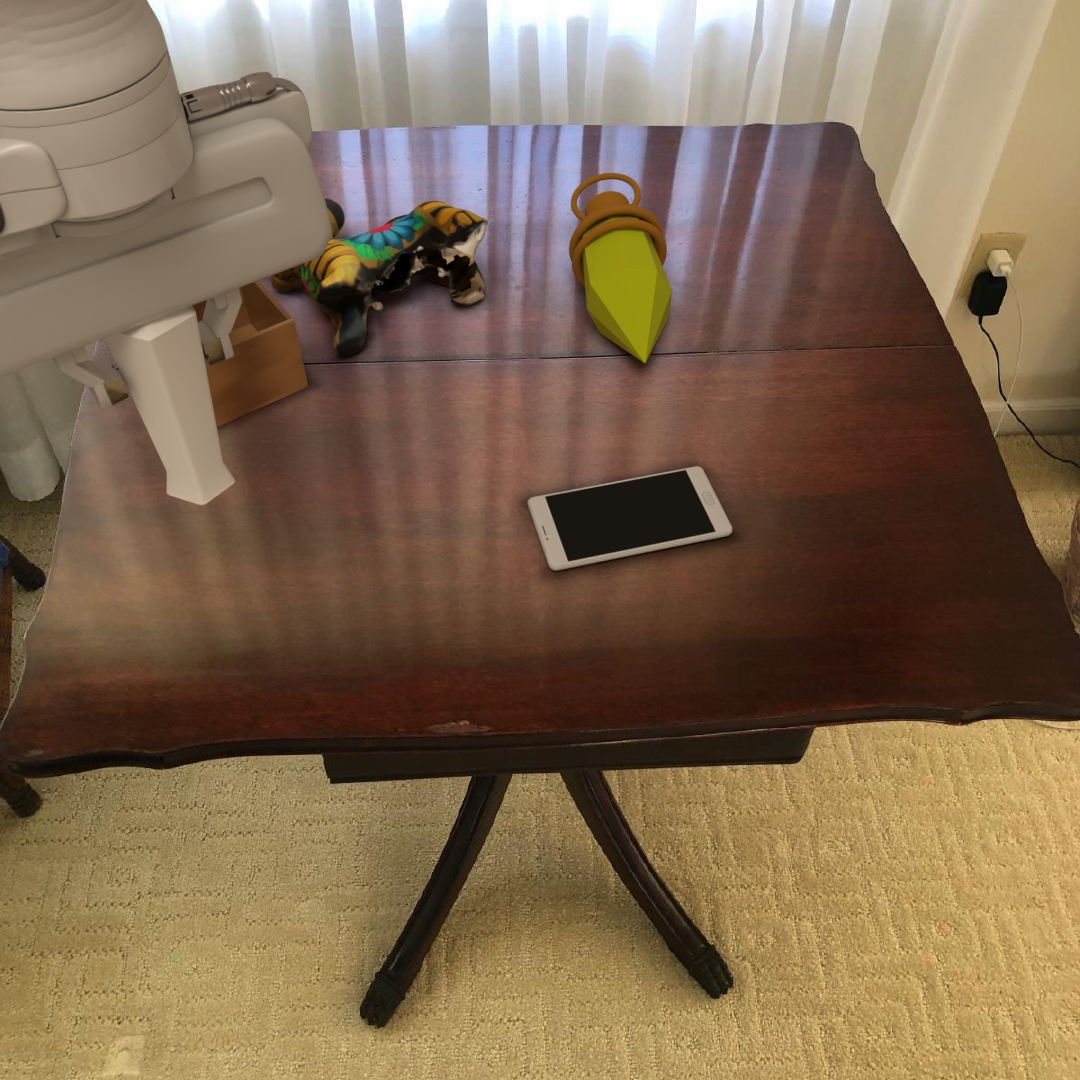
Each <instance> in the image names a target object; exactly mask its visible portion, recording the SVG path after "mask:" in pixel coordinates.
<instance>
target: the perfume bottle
mask: <svg viewBox="0 0 1080 1080" xmlns="http://www.w3.org/2000/svg"><path fill="white" fill-rule="evenodd" d="M104 341H105V343H106V346H107V347H108V349H109V352H110V354H111V356H112V358H113V360H114V362H115V365H116V366H117V370H118V372H119V373H120V375H121V376H122V378H123V381H124V383H125V387H126V388H127V391H128V393H129V395H130V396H131V397H130V398H131V399H132V401H133V403H134V405H135V407H136V409H137V411H138V413H139V415H140V418H141V420H142V422H143V424H144V426H145V429H146V431H147V433H148V435H149V437H150V439H151V441H152V444H153V446H154V448H155V450H156V452H157V454H158V456H159V458H160V460H161V463H162V465H163V467H164V470H165V471H166V495H168V496H171V497H174V498H177V499H180V500H183V501H187V502H189V503H193V504H195V505H198V506H205V505H206V504H208V503H210V502H211V501H212V500H213V499H214V498H216V497H218V496H219V495H221V494H222V493H223V492H225V491H227V489H229V488H230V487H231V486H233V485H234V484H235V482H236V479H235V478H234V476H233V475H232V473H231V472H230V470H229V468H228V467H227V465H226V464H225V462H224V461H223V454H222V449H221V443H220V438H219V432H218V427H217V426H216V421H215V415H214V410H213V404H212V398H211V393H210V387H209V382H208V376H207V371H206V365H205V360H204V354H203V349H202V343H201V338H200V332H199V327H198V321H197V315H196V311H195V309H194V308H193V307H192V306H189V307H187V308H184V309H181V310H179V311H176V312H173V313H171V314H168V315H166V316H163V317H160V318H158V319H155V320H152V321H150V322H147V323H144V324H142V325H139V326H136V327H134V328H131V329H128V330H126V331H123V332H120V333H118V334H115V335H112V336H110V337H107V338H105V339H104Z"/></svg>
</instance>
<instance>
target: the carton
mask: <svg viewBox="0 0 1080 1080" xmlns="http://www.w3.org/2000/svg"><path fill="white" fill-rule="evenodd" d="M239 290H240V294H241V298H242V304H241V307H240V309H239V312H238V315H237V317H236V320H235V323H234V325H233V328H232V331H231V333H229V337H230V341H231V345H232V348H233V352H234V357H232V358H230V359H227V360H225V361H222V362H219V363H217V364H214V365H211V366H209V367H208V366H207V365H206V364H205V365H206V371H207V376H208V382H209V387H210V393H211V398H212V404H213V410H214V415H215V421H216V426H217V428H218V427H221V426H223V425H226V424H228V423H230V422H233V421H234V420H237V419H239V418H241V417H243V416H246V415H249V414H250V413H252V412H255V411H257V410H260V409H262V408H264V407H266V406H268V405H270V404H272V403H273V404H274V403H275V402H278V401H279V400H282V399H284V398H286V397H289V396H291V395H293V394H296V393H299V392H300V391H302V390H305V389H306V388H309V382H308V378H307V372H306V368H305V364H304V359H303V354H302V350H301V346H300V341H299V337H298V332H297V326H296V323H295V319H293V317H292V316H291V315H290V313H288V312H287V311H286V309H285V308H283V306H282V305H281V304H280V303H279V302H278V301H277V300H276V298H275V297H273V296H272V294H271V293H270V292H269V291H268V290H267V289H266V288H265V287H264V286H263V284H261V282H260V280H258V281H255V282H253V283H250V284H248V285H245V286H242V287H240V288H239ZM206 303H207V300H205V301H202V302H200V303H197V304H195V305H192V307H193V308H194V309H195V311H196V315H197V321H198V322H200V321H202V319H203V315H204V311H205V307H206Z"/></svg>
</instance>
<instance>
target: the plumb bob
mask: <svg viewBox="0 0 1080 1080" xmlns="http://www.w3.org/2000/svg"><path fill="white" fill-rule="evenodd" d="M607 180H608V181H609V180H614V181H615V180H616V181H621V182H624V183H626V184H628V185H629V186H630V187H631V188H632V190H633V194H634V196H633V200H632V202H631V203H630V201H629V199H628V198H627V196H626V195H625V194H623V193H622V192H620V191H615V190H607V191H602V192H600V193H597V194H596V195H594V196H592V198H590V199H589V201H588V202H587V204H586V206H585V209H584V213H583V212H581V210H580V209H579V206H578V199H579V197H580V195H581V194H582V193H583V191H584V190H586V188H588V187H589V186H591V185H594V184H596V183H599V182H601V181H607ZM641 198H642V191H641V189H640V186H639V184H638V182H637V181H636V180H635V179H633V178H632V177H631V176H629V175H627V174H623V173H618V172H604V173H600V174H599V173H598V174H596V175H594V176H591V177H589V178H586V180H584V181H582V183H580V184H579V185H578V186H577V187H576V188H575V190H574V191H573V192H572V194H571V198H570V208H571V211H572V213H573V215H575V217H576V218H577V219H578V220H579V221H580V222H579V224H578V225H577V226H576V228H575V229H574V231H573V232H572V235H571V237H570V240H569V245H568V254H569V255H568V256H569V258H570V261H571V269H572V273H573V275H574V277H575V278H576V280H577V281H578V282H579V284H580V285H581V286H582V287H584V291H585V302H586V303H585V304H586V310H587V312H588V314H589V315H590V317H591V320H592V322H593V324H594V325H595V327H596V329H597V331H598V333H599V334H601V335H602V336H604V337H605V338H607V339H608V340H610V341H611V342H613V343H614V344H615V345H617V346H618V347H620V348H621V349H623V350H624V351H626V352H627V353H629V354H630V355H632V356H633V357H635V358H636V359H638V361H640V362H642V364H646V363H647V361H648V359H649V357H650V355H651V353H652V351H653V349H654V347H655V345H656V343H657V341H658V339H659V337H660V335H661V334H662V331H663V329H664V327H665V326H666V323H667V322H668V319H669V316H670V310H671V302H672V295H673V288H672V286H671V283H670V281H669V278H668V276H667V273H666V271H665V268H664V264H665V262H666V259H667V254H668V247H667V241H666V238H665V237H664V232H663V227H662V225H661V223H660V221H659V220H658V218H657V217H656V216H655V215H654V214H653V213H651V212H650V211H649V210H647V209H645V208H643V207H641V206H639V204H640V202H641Z"/></svg>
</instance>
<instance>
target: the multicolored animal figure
mask: <svg viewBox="0 0 1080 1080" xmlns="http://www.w3.org/2000/svg"><path fill="white" fill-rule="evenodd" d="M324 198H325V197H324ZM325 202H326V206H327V210H328V214H329V218H330V223H331V228H332V236H331V238H330V241H329V243H328V245H327V247H326V249H325V251H324V253H323V254H322V255H321V256H320V257H318V258H316V259H314V260H311V261H309V262H306V263H303V264H301V265H298V266H295V267H293V268H290V269H287V270H285V271H282V272H279V273H277V274H274V275H271V276H270V284H271V287H272V288H273V289H275V290H278V291H281V292H290V291H292V290H294V289H295V288H297V287H301V285H304V289H305V290H306V292H307V294H308V295H309V297H310V298H311V299H312V300H313V301H314V302H316V303H318V305H320V307H321V308H322V310H324V312H325V313H326V315H327V316H328V317H329V319H330V321H331V323H332V325H333V326H334V328H335V330H336V333H335V335H334V337H333V349H334V351H335V353H336V355H337V356H338V357H349V356H352V355H355V354H357V353H359V352H360V351H361V350H362V349H363V348H364V346H366V345H365V344H366V342H367V337H368V313H369V309H371V308H373V309H374V310H375V311H382V309H383V308H384V305H383V304H382V302H381V301H374V299H378V298H382V297H384V296H387V295H390V294H391V293H393V292H402V291H403V290H404V289H405V287H406V285H408V286H409V285H410V284H411V280H412V279H413V277H415V276H423V277H425V278H426V279H427V280H429V281H430V282H434V283H436V284H441V285H443V286H445V287H448V289H449V290H448V291H449V294H448V295H449V297H450V301H451V303H452V304H453V305H456V306H459V307H468V306H470V305H473V304H474V305H475V304H476V303H478V302H479V301H481V300H483V299H484V298H485V297H486V293H487V292H486V291H487V287H486V282H485V279H484V277H483V276H484V275H483V274H482V272H481V270H480V268H479V266H478V264H477V263H476V261H475V258H476V257H475V256H476V253H477V249H478V246H479V245H480V243H481V242H482V241H483V239H484V237H485V235H486V230H487V227H488V223H489V222H488V219H486V218H484V217H482V216H480V215H478V214H476V213H475V212H473V211H471V210H467V209H465V208H459V207H454V206H453V205H450V204H448V203H446V202H444V201H441V200H435V199H434V200H433V199H432V200H427V201H424V202H421V203H419V204H418V205H416V206H415V207H414V209H412V210H411V211H410V212H409V213H406V214H403V215H398V216H395V217H393V218H391V219H390V220H388V221H387V222H386V223H384V224H383V225H380V226H379V227H376V228H373V229H370V230H367V231H366V232H364V233H360V234H357V235H354V236H349V237H346V238H336V237H337V236H338V235H339V233H340V232H341V231H342V229H343V227H344V225H345V221H346V215H345V212H344V210H343V208H342V206H341V205H340V204H339V203H338V202H336V201H335V200H333V199H331V198H325Z"/></svg>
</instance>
